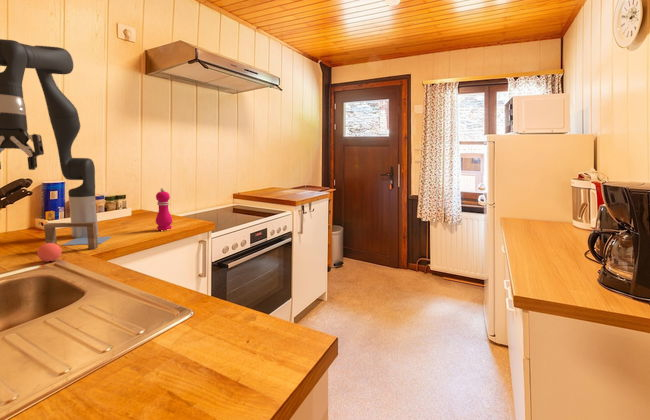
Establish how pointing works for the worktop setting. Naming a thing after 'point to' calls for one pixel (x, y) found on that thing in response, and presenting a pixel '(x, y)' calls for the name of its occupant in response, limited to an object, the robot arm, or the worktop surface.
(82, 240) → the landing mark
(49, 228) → the bridge
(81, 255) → the worktop surface
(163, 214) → the pepper mill
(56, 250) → the ball
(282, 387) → the worktop surface
